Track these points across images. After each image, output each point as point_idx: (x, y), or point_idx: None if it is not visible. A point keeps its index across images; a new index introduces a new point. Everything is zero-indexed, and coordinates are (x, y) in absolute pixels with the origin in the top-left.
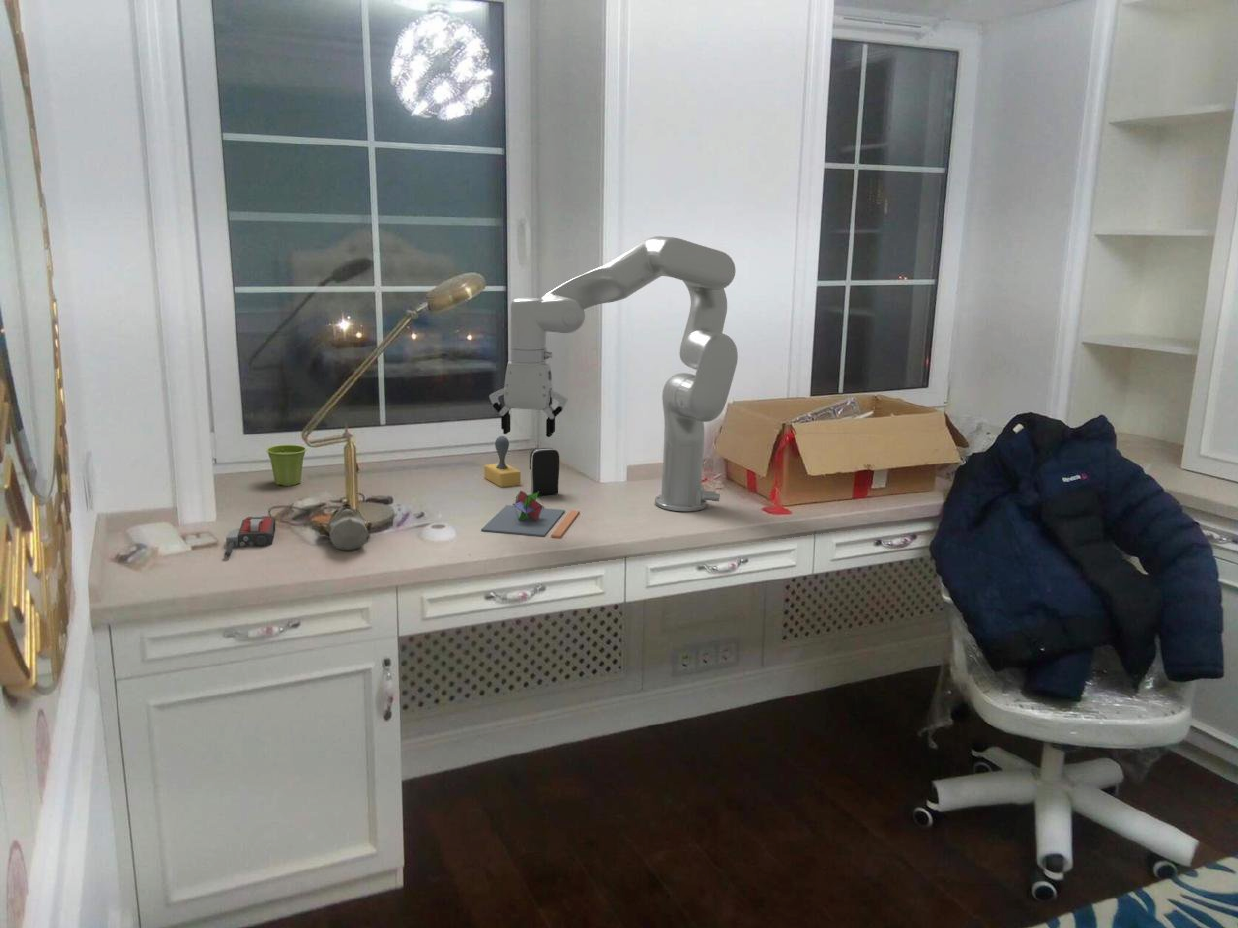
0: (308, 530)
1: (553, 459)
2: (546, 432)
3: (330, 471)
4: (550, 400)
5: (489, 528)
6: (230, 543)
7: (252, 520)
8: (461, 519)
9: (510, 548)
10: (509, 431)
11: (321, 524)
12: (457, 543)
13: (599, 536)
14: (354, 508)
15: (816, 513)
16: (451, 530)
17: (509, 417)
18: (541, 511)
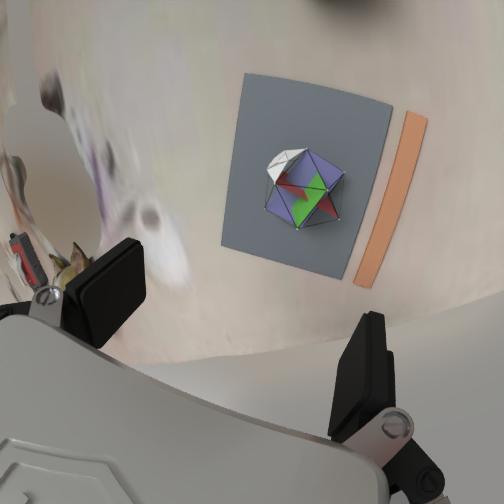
0: (45, 238)
1: None
2: (337, 378)
3: (4, 12)
4: (368, 501)
5: (234, 241)
6: (34, 292)
7: (19, 272)
8: (173, 175)
9: (282, 324)
10: (143, 259)
11: (51, 259)
12: (200, 297)
13: (440, 278)
14: (62, 290)
15: None
16: (174, 238)
17: (94, 300)
18: (335, 117)
